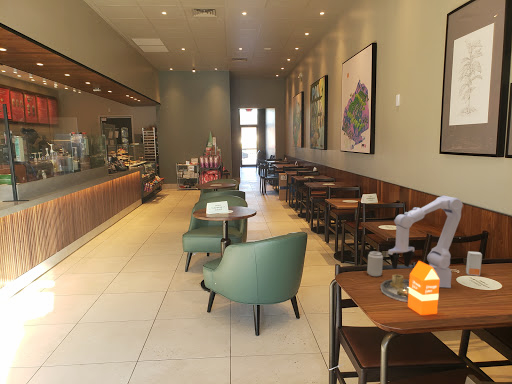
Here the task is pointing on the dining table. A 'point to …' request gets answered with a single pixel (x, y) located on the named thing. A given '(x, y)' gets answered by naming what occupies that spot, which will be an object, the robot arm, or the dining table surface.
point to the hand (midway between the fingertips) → (400, 267)
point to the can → (375, 263)
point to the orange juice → (423, 289)
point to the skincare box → (473, 263)
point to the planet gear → (397, 281)
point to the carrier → (396, 290)
